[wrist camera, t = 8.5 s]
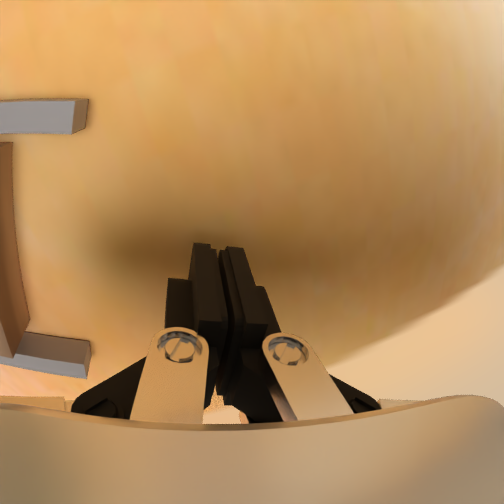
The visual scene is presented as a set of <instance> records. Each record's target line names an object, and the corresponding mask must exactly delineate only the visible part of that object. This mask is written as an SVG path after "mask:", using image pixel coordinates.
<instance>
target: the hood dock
mask: <svg viewBox="0 0 504 504" xmlns="http://www.w3.org/2000/svg"><path fill="white" fill-rule="evenodd" d="M88 100H89V99H16V100H0V134H8V133H42V134H73V133H75V132H77V131H80V130H82V129H84V128H85V124H86V115H87V107H88ZM90 360H91V351H90V345H89V341H83V340H75V339H68V338H60V337H54V336H47V335H41V334H34V333H29V332H24V334H23V336H22V339H21V341H20V343H19V346H18V348H17V351H16V353H15V355H14V358H13V359H12V358H7V357H3V356H0V364H4V365H9V366H14V367H18V368H23V369H28V370H33V371H39V372H44V373H50V374H56V375H62V376H69V377H76V378H83V379H87V375H88V370H89V365H90Z"/></svg>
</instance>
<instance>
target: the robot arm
mask: <svg viewBox="0 0 504 504" xmlns="http://www.w3.org/2000/svg"><path fill="white" fill-rule="evenodd" d="M215 385H216V392H217V395H222V396H223V400H224V405H232V406H234V407H235V408H237V409H238V410H240V413H239V417H240V421H241V424H202V422H203V410H204V409H205V408H207V407H208V406H209V405H210V402H211V398H212V395H213V392H214V387H215ZM0 504H504V407H503V406H502V405H501V404H500V403H498V402H497V401H495V400H493V399H490V398H487V397H483V396H476V395H455V396H446V397H441V398H435V399H430V400H425V401H413V400H412V401H411V400H386V399H379V400H378V402H376V400H375V399H373V398H372V397H370V396H369V395H367V394H365V393H363V392H361V391H359V390H357V389H355V388H354V387H351V386H350V385H348V384H346V383H344V382H343V381H341V380H339V379H337V378H335V377H333V376H332V375H330V374H328V372H327V371H326V369H325V368H324V366H323V365H322V363H321V361H320V360H319V358H318V357H317V355H316V354H315V352H314V351H313V349H312V348H311V346H310V345H309V344H308V343H307V342H306V341H304V340H303V339H302V338H300V337H298V336H295V335H293V334H288V333H281V330H280V328H279V325H278V322H277V320H276V317H275V314H274V312H273V309H272V306H271V303H270V301H269V298H268V295H267V293H266V290H265V288H264V287H262V286H256V285H255V282H254V279H253V276H252V273H251V270H250V267H249V264H248V261H247V258H246V255H245V252H244V249H243V248H238V247H229V246H227V247H226V249H225V250H220V252H219V256H218V258H217V253H216V249H211V247H210V244H202V243H194V244H193V249H192V256H191V263H190V270H189V278H188V280H184V279H174V278H168V286H167V297H166V311H165V329H164V330H161V331H159V332H158V333H157V334H156V335H154V337H153V339H152V341H151V344H150V347H149V351H148V354H147V356H146V357H144V358H143V359H141V360H139V361H138V362H136V363H134V364H133V365H131V366H129V367H128V368H126V369H124V370H122V371H121V372H119V373H117V374H116V375H114V376H112V377H110V378H109V379H107V380H105V381H103V382H102V383H100V384H98V385H96V386H95V387H93V388H91V389H89V390H88V391H86V392H84V393H82V394H81V395H80V396H79V397H77V398H76V400H69V401H65V399H64V397H20V396H0Z"/></svg>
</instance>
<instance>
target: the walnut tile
mask: <svg viewBox="0 0 504 504" xmlns="http://www.w3.org/2000/svg"><path fill="white" fill-rule="evenodd" d="M12 147H13V142H0V356H3V357H7V358H12V359H13V358H14V355H15V353H16V351H17V348H18V346H19V343H20V341H21V339H22V336H23V334H24V332H25V330H26V327H27V325H28V323H29V321H30V316H29V312H28V308H27V303H26V298H25V293H24V288H23V282H22V277H21V270H20V264H19V257H18V250H17V241H16V232H15V221H14V208H13V186H12Z"/></svg>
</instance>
